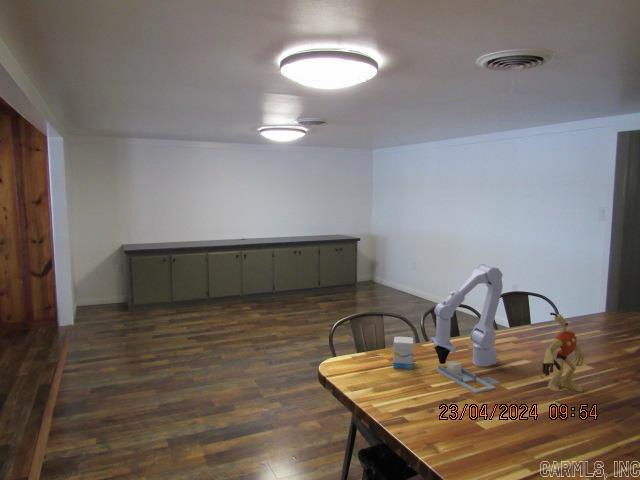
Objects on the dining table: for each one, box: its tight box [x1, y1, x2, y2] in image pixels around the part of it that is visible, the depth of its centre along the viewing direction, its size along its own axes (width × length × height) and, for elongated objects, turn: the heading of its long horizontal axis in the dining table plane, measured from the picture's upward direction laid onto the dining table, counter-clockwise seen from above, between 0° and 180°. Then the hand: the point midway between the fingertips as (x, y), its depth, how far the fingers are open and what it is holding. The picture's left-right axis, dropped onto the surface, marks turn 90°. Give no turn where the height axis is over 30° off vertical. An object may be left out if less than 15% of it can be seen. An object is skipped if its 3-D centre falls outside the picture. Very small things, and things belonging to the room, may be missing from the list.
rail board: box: [435, 364, 497, 394], centre depth 175 cm, size 10×23×4 cm, turn 23°
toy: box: [542, 312, 586, 397], centre depth 164 cm, size 23×9×30 cm, turn 117°
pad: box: [479, 376, 501, 385], centre depth 173 cm, size 5×6×2 cm
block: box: [446, 360, 462, 374], centre depth 180 cm, size 4×4×4 cm
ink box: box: [392, 336, 414, 370], centre depth 193 cm, size 9×8×12 cm
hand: (442, 363), depth 187 cm, fingers closed
